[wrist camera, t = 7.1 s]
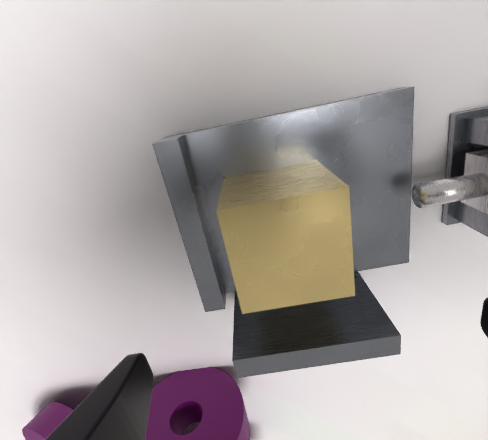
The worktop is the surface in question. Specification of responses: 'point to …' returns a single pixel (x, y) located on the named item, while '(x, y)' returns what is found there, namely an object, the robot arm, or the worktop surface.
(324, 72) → the worktop surface
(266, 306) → the block
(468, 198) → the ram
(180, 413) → the mounting bracket
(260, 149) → the frame
